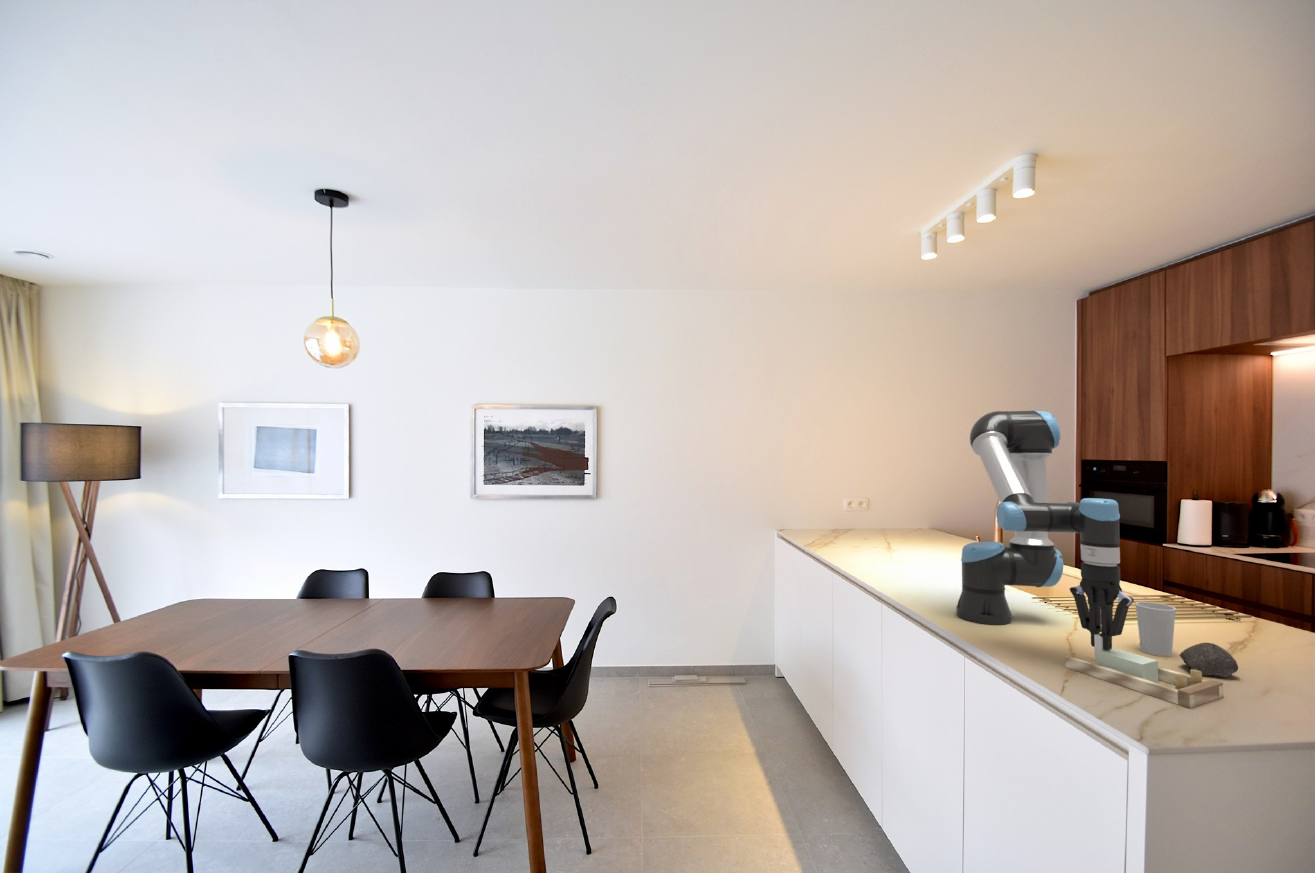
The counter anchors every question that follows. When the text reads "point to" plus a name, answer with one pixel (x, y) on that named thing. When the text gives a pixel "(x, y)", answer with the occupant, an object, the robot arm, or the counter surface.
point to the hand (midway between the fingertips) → (1101, 661)
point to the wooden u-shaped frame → (1186, 689)
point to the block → (1129, 664)
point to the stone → (1209, 660)
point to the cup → (1155, 628)
